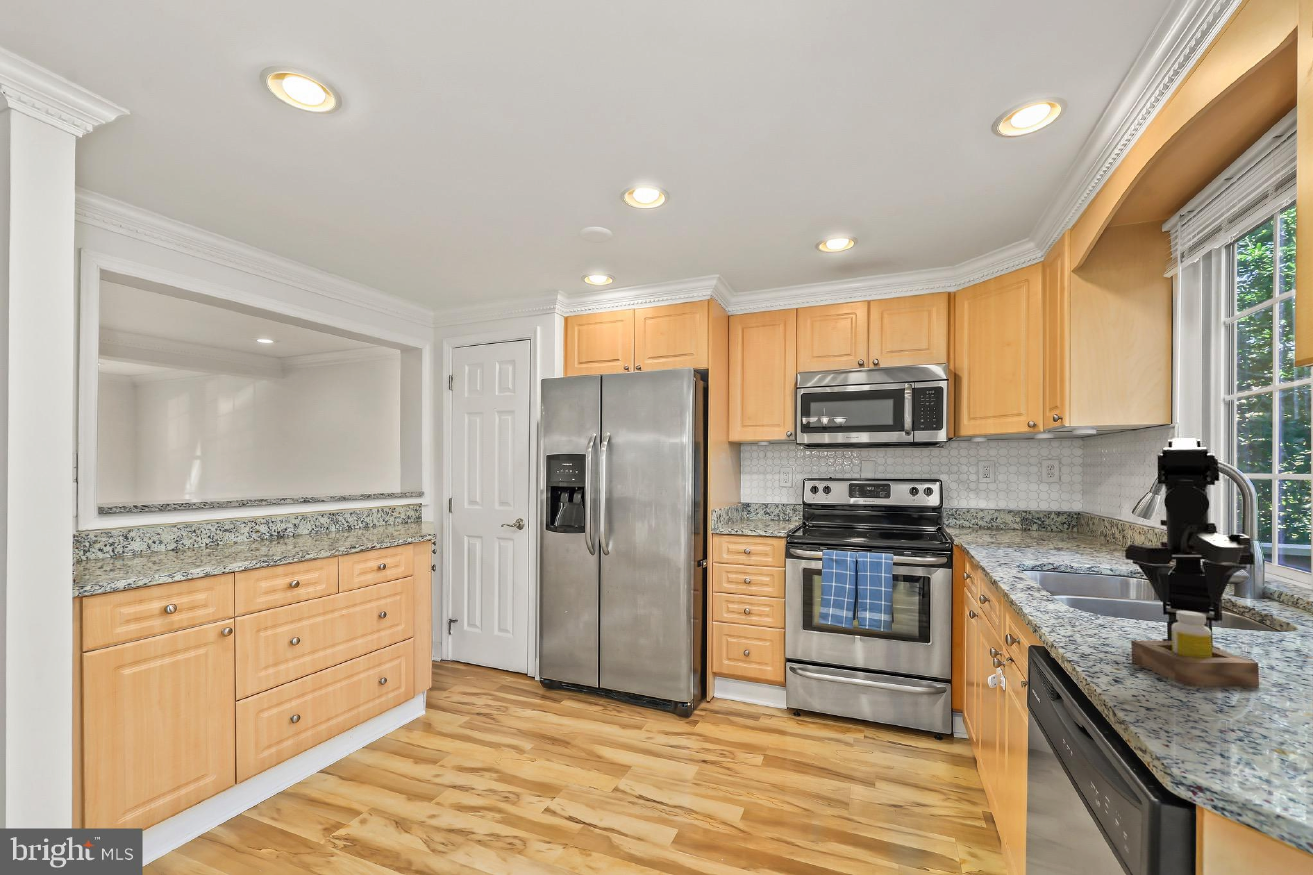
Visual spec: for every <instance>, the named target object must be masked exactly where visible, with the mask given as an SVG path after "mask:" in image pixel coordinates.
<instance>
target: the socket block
mask: <svg viewBox="0 0 1313 875" xmlns="http://www.w3.org/2000/svg"><path fill="white" fill-rule="evenodd" d="M1130 643H1131V662H1132V663H1133V664H1136V665H1139V666H1141V667H1143V668H1144V669H1148V670H1150V671H1152V672H1154V673H1156V674H1159V675H1161V676H1164V677H1166V678H1168V679H1170V680H1173V681H1175V682H1178V683H1180V684H1182V685H1184V686H1187V687H1252V688H1253V687H1254V688H1255V687H1258V688H1259V687H1260V673H1259V662H1256V661H1254V660H1251V659H1248V658H1245V657H1242V656H1240V655H1237V654H1234V653H1231V652H1227V651H1225V650H1223V649H1221V648H1220V649H1217V648H1214V647H1212V658H1189V657H1186V656H1183V655H1181V654H1178V653H1175V652H1173V651H1172V641H1163V640H1131V642H1130Z"/></svg>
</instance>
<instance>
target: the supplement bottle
mask: <svg viewBox="0 0 1313 875" xmlns="http://www.w3.org/2000/svg"><path fill="white" fill-rule="evenodd" d="M1176 619H1177V620H1178V622H1177V623H1174V624H1173V625H1172V651H1173V652H1175V653H1178V654H1181V655H1183V656H1186V657H1189V658H1212V636H1213V633H1212V634H1211V630H1210V629H1209V628H1207V627H1205V626H1204V624H1205V623H1206V615H1204V614H1201V613H1197V612H1192V611H1177V612H1176Z"/></svg>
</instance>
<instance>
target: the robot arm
mask: <svg viewBox="0 0 1313 875" xmlns="http://www.w3.org/2000/svg"><path fill="white" fill-rule="evenodd" d="M1161 450H1162V452H1160V453H1157V485H1163V486H1164V489H1165V492H1164V494H1165V497H1164V499H1163V501H1164V507H1165V518H1166V519H1160V522H1159V523H1160V526H1163V527H1166V528H1165V529H1166V541H1161V542H1160V546H1158V545H1153V544H1133V543H1132V544H1131V543H1130V544H1128V545H1127V546H1126V548H1125V553H1124V554H1125V558H1124V559H1126V560H1129V561H1131V562H1132V564H1133V565H1137V567H1138V568H1139V569H1140V570H1141V571H1142V573H1143V574H1144V576H1145V577H1146V579H1147V580H1148V582H1149V584H1150V585H1151V587H1152V589H1153V591H1154V592H1155V594H1156V596H1157V598H1158V600H1159V601H1160V602H1162V615H1163V616H1168V621H1167V622H1166V632H1167V635H1166V636H1167V637H1166V638H1162V641H1172V625H1173V624H1174V623H1177V622H1178V620H1177V619H1176V612H1177V611H1192V612H1197V613H1201V614H1204V615H1206V623H1205V624H1204V626H1205V627H1207V628H1209V629H1210V630H1211V634H1212V647H1214V648H1217V649H1220V650H1221V647H1218V646H1215V645H1214V644H1213V642H1214V640H1213V639H1214V638H1213V622H1216V623H1218V622H1222V621H1223V598H1222V596H1223V594H1224V593H1225V590H1226V588H1227V586H1228V584H1229V582H1230V580H1231V579H1232V576H1233V575H1235V574H1236V573H1238V572H1240V571H1242V570H1246V569H1247V568H1248V566H1246V565H1252V566H1254V565H1255V556H1254V553H1253V551H1251V550H1252V542H1251V537H1250V536H1248V535H1246V534H1244V533H1232V534H1230V535H1228V534H1227V535H1225V534H1224V535H1223V534H1220V533H1218V530H1217V525H1216V524H1215V523H1214V522H1209V509H1210V500H1209V498H1208V486H1215V485H1216V482H1219V481H1220V470H1219V460H1218V458H1216V456H1215V454H1214V453H1210V452H1209V449H1208V448H1207V447H1206V446H1204V447H1202V446H1201V439H1197V438H1195V437H1194V438H1172V439H1168V447H1163V448H1162V449H1161ZM1173 560H1175V566H1173V565H1169V564H1170V563H1171V562H1172V561H1173ZM1202 568H1203V569H1202Z"/></svg>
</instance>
